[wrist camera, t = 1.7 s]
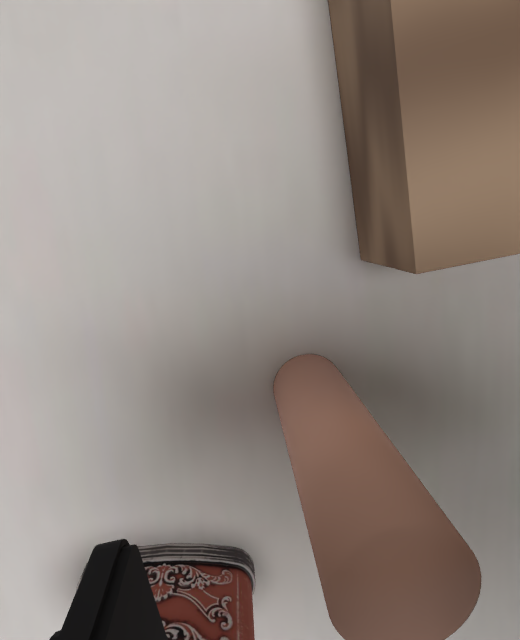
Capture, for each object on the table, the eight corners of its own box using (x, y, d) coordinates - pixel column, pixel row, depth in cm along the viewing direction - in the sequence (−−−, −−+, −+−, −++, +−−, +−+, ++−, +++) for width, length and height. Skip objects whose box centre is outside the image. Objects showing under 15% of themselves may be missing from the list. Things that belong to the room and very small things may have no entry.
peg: (346, 411, 18) (485, 636, 8) (279, 425, 18) (338, 669, 8) (336, 347, 17) (476, 510, 7) (267, 361, 17) (315, 544, 7)
